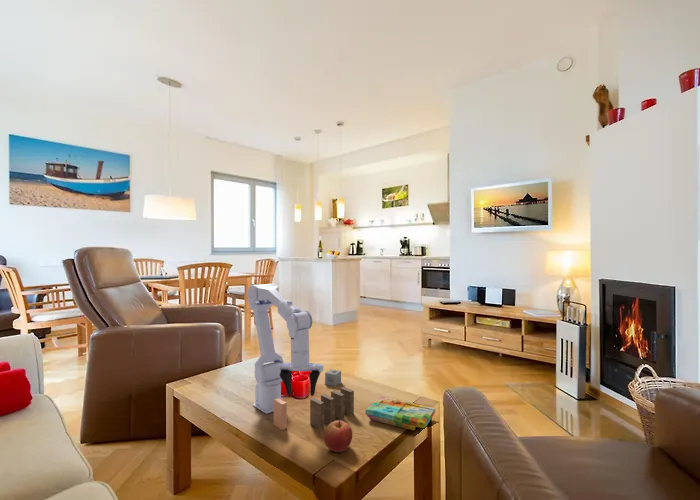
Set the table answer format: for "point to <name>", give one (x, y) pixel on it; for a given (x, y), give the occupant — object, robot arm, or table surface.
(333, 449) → the apple
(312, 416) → the domino
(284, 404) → the domino
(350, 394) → the domino
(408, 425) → the puzzle game
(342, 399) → the domino
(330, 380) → the dice cube
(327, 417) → the domino
